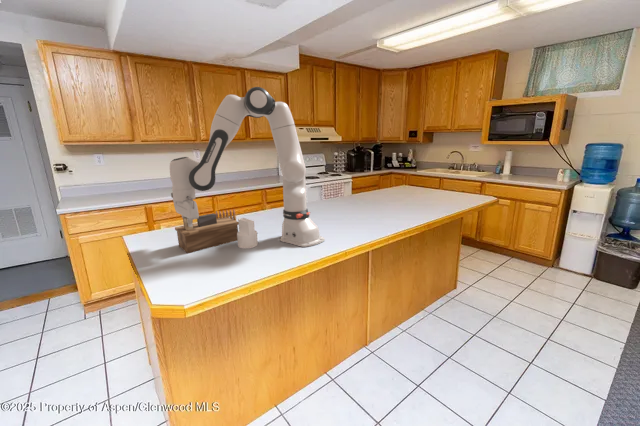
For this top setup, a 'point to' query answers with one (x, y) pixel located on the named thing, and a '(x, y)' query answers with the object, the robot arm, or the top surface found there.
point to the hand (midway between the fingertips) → (188, 225)
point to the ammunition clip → (226, 215)
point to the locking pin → (186, 224)
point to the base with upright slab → (246, 234)
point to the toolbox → (207, 239)
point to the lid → (207, 224)
